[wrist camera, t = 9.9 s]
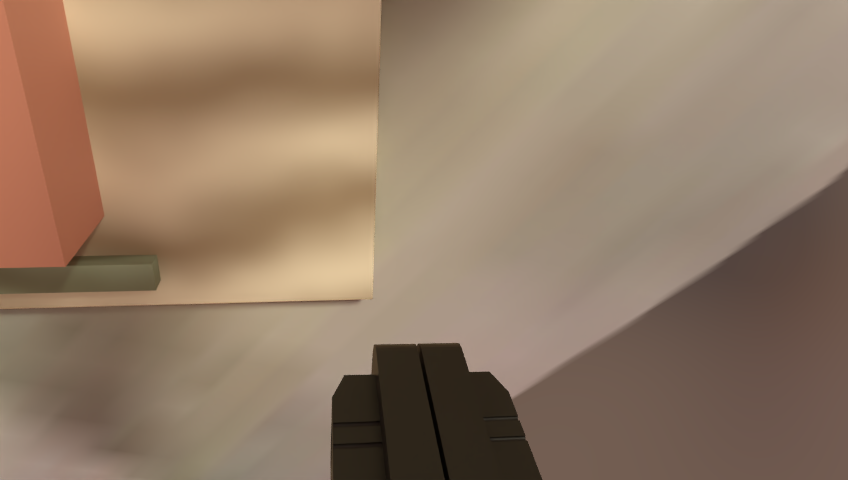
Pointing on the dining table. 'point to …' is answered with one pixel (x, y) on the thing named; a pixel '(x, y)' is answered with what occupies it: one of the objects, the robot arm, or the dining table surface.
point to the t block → (42, 140)
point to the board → (222, 154)
